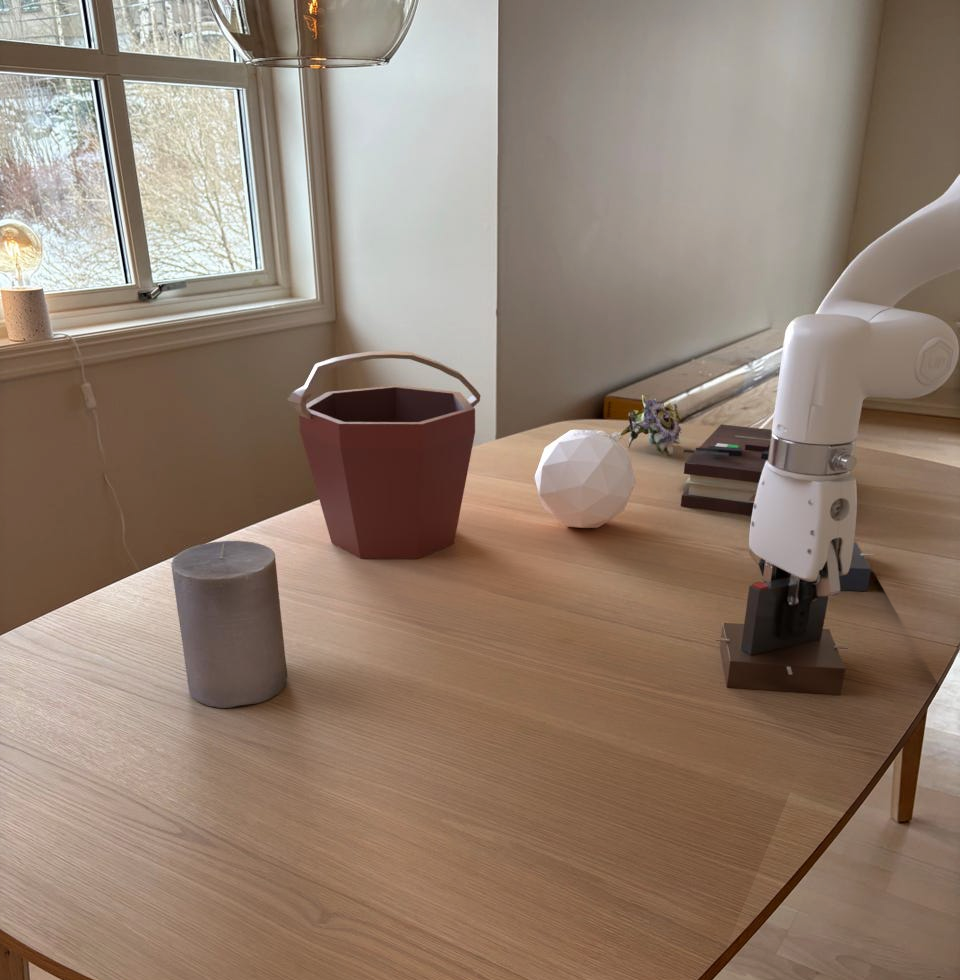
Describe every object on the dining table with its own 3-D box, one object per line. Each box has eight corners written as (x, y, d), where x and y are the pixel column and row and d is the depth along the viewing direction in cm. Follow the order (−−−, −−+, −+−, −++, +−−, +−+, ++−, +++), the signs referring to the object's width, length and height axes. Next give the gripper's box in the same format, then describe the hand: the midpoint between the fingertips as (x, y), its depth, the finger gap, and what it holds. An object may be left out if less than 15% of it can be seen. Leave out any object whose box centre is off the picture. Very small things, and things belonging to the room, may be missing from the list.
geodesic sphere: (627, 462, 149) (579, 391, 141) (677, 489, 137) (628, 413, 129) (553, 529, 149) (501, 462, 141) (598, 562, 137) (543, 490, 129)
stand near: (831, 645, 107) (836, 619, 105) (856, 706, 95) (861, 677, 94) (708, 638, 108) (711, 612, 107) (717, 697, 97) (720, 668, 95)
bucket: (290, 566, 127) (272, 369, 116) (317, 510, 147) (303, 337, 136) (479, 566, 127) (479, 369, 116) (481, 511, 147) (481, 338, 136)
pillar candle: (232, 655, 105) (216, 521, 98) (307, 675, 100) (295, 537, 94) (167, 695, 97) (144, 552, 90) (245, 719, 93) (227, 571, 86)
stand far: (857, 558, 130) (861, 536, 128) (880, 599, 118) (884, 574, 117) (755, 553, 131) (758, 531, 130) (767, 592, 120) (770, 568, 118)
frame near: (810, 633, 103) (821, 568, 100) (821, 639, 101) (832, 574, 98) (740, 648, 99) (749, 582, 96) (750, 655, 98) (759, 588, 95)
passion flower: (664, 483, 177) (669, 441, 166) (609, 465, 180) (609, 422, 170) (688, 437, 181) (693, 393, 171) (633, 420, 184) (635, 375, 174)
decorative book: (834, 427, 162) (809, 476, 137) (827, 472, 165) (801, 527, 140) (717, 415, 169) (673, 460, 144) (712, 458, 172) (668, 509, 148)
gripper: (905, 472, 87) (868, 657, 95) (786, 430, 99) (762, 597, 108) (839, 482, 84) (806, 672, 92) (725, 438, 97) (705, 609, 105)
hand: (783, 630), depth 100 cm, fingers closed on frame near
